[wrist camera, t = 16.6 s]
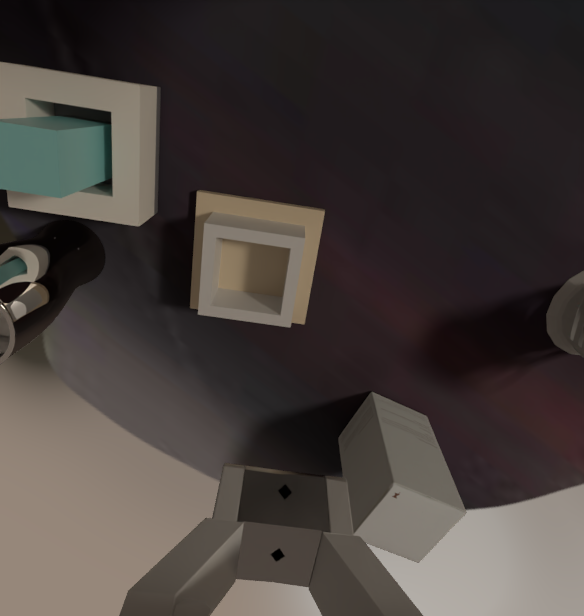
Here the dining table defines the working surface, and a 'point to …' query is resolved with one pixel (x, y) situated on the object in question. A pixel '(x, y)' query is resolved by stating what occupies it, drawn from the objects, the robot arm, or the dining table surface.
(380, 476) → the supplement box
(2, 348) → the beer glass
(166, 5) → the dining table surface
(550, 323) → the french press
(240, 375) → the dining table surface
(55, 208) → the port block
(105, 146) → the plug
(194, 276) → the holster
